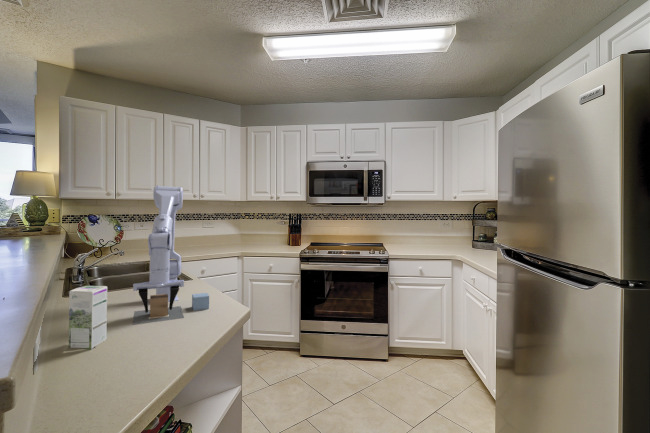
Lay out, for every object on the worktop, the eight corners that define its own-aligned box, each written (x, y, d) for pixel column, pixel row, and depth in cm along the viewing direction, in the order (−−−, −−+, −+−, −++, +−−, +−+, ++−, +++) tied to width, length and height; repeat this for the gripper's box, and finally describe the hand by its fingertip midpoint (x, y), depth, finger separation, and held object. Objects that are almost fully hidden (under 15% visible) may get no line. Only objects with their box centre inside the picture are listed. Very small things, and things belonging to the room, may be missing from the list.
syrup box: (107, 340, 80) (108, 285, 80) (91, 350, 74) (92, 290, 74) (85, 340, 80) (86, 284, 80) (66, 349, 74) (68, 290, 74)
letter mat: (134, 312, 102) (134, 311, 102) (180, 307, 109) (180, 306, 109) (132, 326, 90) (132, 324, 90) (184, 319, 97) (184, 317, 97)
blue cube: (191, 308, 109) (192, 294, 109) (206, 306, 111) (207, 292, 111) (193, 312, 104) (193, 297, 104) (208, 310, 107) (209, 296, 107)
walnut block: (149, 313, 100) (150, 295, 100) (166, 311, 103) (167, 293, 103) (149, 317, 96) (150, 299, 96) (167, 315, 98) (168, 297, 98)
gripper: (133, 272, 92) (132, 317, 92) (185, 269, 100) (184, 310, 100) (134, 268, 98) (133, 310, 98) (183, 266, 106) (182, 305, 106)
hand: (158, 310), depth 99 cm, fingers open, 6 cm apart
